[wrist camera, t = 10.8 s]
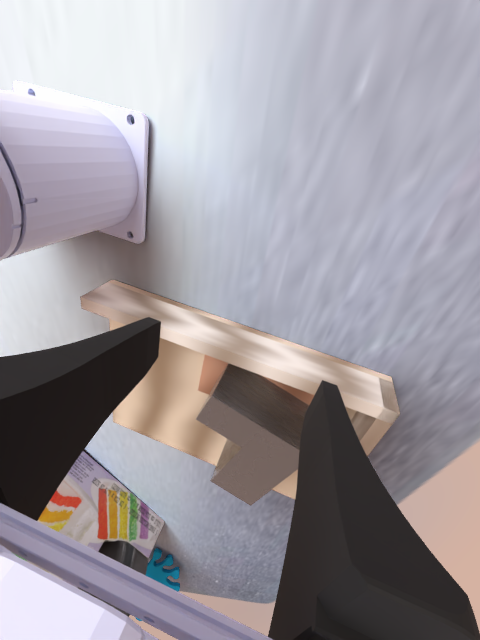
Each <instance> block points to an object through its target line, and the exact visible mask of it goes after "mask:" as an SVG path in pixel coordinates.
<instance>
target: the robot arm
mask: <svg viewBox="0 0 480 640" xmlns="http://www.w3.org/2000/svg"><path fill="white" fill-rule="evenodd" d="M12 89H13V92H12V91H7V90H2V89H0V261H1V260H2V259H5V258H8V257H11V256H15V255H18V254H21V253H24V252H28V251H31V250H34V249H38V248H41V247H44V246H47V245H51V244H54V243H57V242H61V241H64V240H67V239H70V238H74V237H77V236H80V235H84V234H87V233H90V232H93V231H100V232H103V233H106V234H109V235H112V236H115V237H118V238H121V239H124V240H127V241H130V242H133V243H136V244H139V243H142V242H143V241H144V240H145V223H146V194H147V165H148V136H149V121H148V118H147V116H146V115H145V114H144V113H142V112H139V111H135V110H131V109H127V108H123V107H119V106H115V105H112V104H108V103H104V102H100V101H96V100H92V99H88V98H84V97H80V96H77V95H73V94H69V93H65V92H61V91H57V90H53V89H49V88H45V87H41V86H38V85H34V84H30V83H26V82H22V81H18V80H16V81H14V82H13V85H12ZM34 92H35V96H34ZM132 115H133V117H134V120H135V121H134V124H132V123H131V116H132ZM130 232H132V234H133V237H132V236H131V235H130ZM160 329H161V321H159V320H156V319H153V318H150V317H147V318H144V319H141V320H138V321H135V322H133V323H130V324H127V325H125V326H122V327H120V328H117V329H114V330H111V331H109V332H106V333H103V334H100V335H97V336H94V337H91V338H88V339H85V340H81V341H78V342H75V343H71V344H67V345H63V346H59V347H55V348H51V349H46V350H41V351H36V352H30V353H25V354H19V355H13V356H5V357H0V640H159V639H157V638H156V637H154V636H152V635H151V634H149V633H148V632H146V631H144V630H143V629H141V627H140V626H139V625H137V624H136V623H135V622H134V621H133V620H131V619H130V618H129V617H128V616H126V615H125V614H123V613H121V612H120V611H118V610H117V609H115V608H113V607H112V606H110V605H108V604H107V603H105V602H103V601H101V600H99V599H97V598H95V597H93V596H91V595H89V594H88V593H86V592H84V591H82V590H80V589H78V588H76V587H74V586H72V585H70V584H69V583H67V582H65V581H63V580H61V579H59V578H57V577H55V576H53V575H51V574H49V573H48V572H46V571H44V570H42V569H40V568H38V567H36V566H34V565H32V564H30V563H29V562H27V561H25V560H23V559H21V558H19V557H17V556H16V555H18V556H20V557H22V558H24V559H26V560H28V561H30V562H31V563H33V564H35V565H37V566H39V567H41V568H43V569H45V570H47V571H49V572H51V573H52V574H54V575H56V576H58V577H60V578H62V579H64V580H66V581H68V582H70V583H71V584H73V585H75V586H77V587H79V588H81V589H83V590H85V591H87V592H89V593H91V594H92V595H94V596H96V597H98V598H100V599H102V600H104V601H106V602H108V603H110V604H111V605H113V606H115V607H117V608H119V609H121V610H123V611H125V612H127V613H129V614H130V615H132V616H134V617H136V618H138V619H140V620H142V621H144V622H146V623H148V624H150V625H152V626H153V627H155V628H157V629H159V630H161V631H163V632H165V633H167V634H169V635H170V636H173V637H174V638H176V639H178V640H480V633H479V630H478V626H477V623H476V619H475V616H474V613H473V610H472V607H471V604H470V601H469V598H468V596H467V594H466V593H465V592H464V591H463V590H462V588H461V587H460V586H459V585H458V584H457V583H456V581H455V580H454V579H453V578H452V577H451V576H450V574H449V573H448V572H447V571H446V570H445V568H444V567H443V566H442V565H441V564H440V562H439V561H438V560H437V559H436V558H435V556H434V555H433V554H432V553H431V551H430V550H429V549H428V548H427V546H426V545H425V544H424V542H423V541H422V540H421V538H420V537H419V536H418V535H417V533H416V532H415V531H414V529H413V528H412V527H411V525H410V524H409V522H408V521H407V520H406V518H405V517H404V515H403V514H402V513H401V511H400V510H399V508H398V507H397V505H396V504H395V502H394V501H393V499H392V498H391V496H390V495H389V493H388V492H387V490H386V488H385V487H384V485H383V484H382V482H381V480H380V479H379V477H378V475H377V473H376V472H375V470H374V468H373V467H372V465H371V463H370V461H369V459H368V457H367V455H366V453H365V451H364V449H363V447H362V445H361V443H360V441H359V439H358V436H357V434H356V432H355V430H354V427H353V425H352V423H351V420H350V418H349V415H348V413H347V410H346V407H345V405H344V402H343V399H342V397H341V394H340V391H339V388H338V386H337V385H335V384H332V383H329V382H326V381H324V380H322V381H321V383H320V385H319V387H318V389H317V391H316V393H315V395H314V397H313V399H312V401H311V403H310V405H309V407H308V409H307V411H306V413H305V417H304V422H303V427H302V432H301V439H300V451H299V464H298V477H297V490H296V498H295V505H294V511H293V517H292V522H291V528H290V533H289V539H288V544H287V549H286V554H285V560H284V565H283V569H282V574H281V579H280V584H279V589H278V594H277V598H276V603H275V608H274V612H273V617H272V621H271V626H270V630H269V635H268V637H267V636H265V635H263V634H261V633H259V632H257V631H255V630H253V629H251V628H249V627H247V626H245V625H243V624H241V623H239V622H237V621H235V620H233V619H231V618H229V617H227V616H225V615H223V614H221V613H219V612H217V611H215V610H213V609H211V608H209V607H207V606H205V605H203V604H201V603H199V602H197V601H195V600H193V599H191V598H189V597H187V596H185V595H183V594H181V593H179V592H177V591H175V590H173V589H171V588H169V587H167V586H165V585H163V584H161V583H159V582H157V581H155V580H153V579H151V578H149V577H147V576H145V575H143V574H141V573H139V572H137V571H135V570H133V569H131V568H129V567H127V566H125V565H123V564H121V563H119V562H117V561H115V560H113V559H111V558H109V557H107V556H105V555H103V554H101V553H99V552H97V551H95V550H93V549H91V548H89V547H87V546H85V545H83V544H81V543H79V542H77V541H75V540H73V539H71V538H69V537H67V536H65V535H63V534H61V533H59V532H57V531H55V530H53V529H51V528H49V527H47V526H45V525H43V524H41V523H39V522H37V521H38V519H39V517H40V516H41V514H42V512H43V511H44V509H45V508H46V506H47V504H48V503H49V501H50V500H51V498H52V496H53V495H54V493H55V492H56V490H57V488H58V487H59V485H60V484H61V482H62V481H63V479H64V478H65V476H66V475H67V473H68V472H69V470H70V469H71V467H72V466H73V464H74V463H75V461H76V460H77V459H78V457H79V456H80V454H81V453H82V452H83V450H84V449H85V447H86V446H87V444H88V443H89V442H90V440H91V439H92V438H93V436H94V435H95V433H96V432H97V431H98V429H99V428H100V427H101V425H102V424H103V423H104V421H105V420H106V419H107V418H108V417H109V415H110V414H111V413H112V412H113V411H114V410H115V409H116V407H117V406H118V405H119V404H120V403H121V402H122V401H123V400H124V399H125V398H126V397H127V395H128V394H129V393H130V392H131V391H132V390H133V389H134V388H135V387H136V386H137V384H138V383H139V382H140V381H141V380H142V379H143V378H144V377H145V375H146V374H147V373H148V371H149V370H150V369H151V367H152V366H153V364H154V363H155V361H156V360H157V358H158V355H159V342H160ZM13 553H14V554H13ZM15 554H16V555H15Z"/></svg>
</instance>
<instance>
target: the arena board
mask: <svg viewBox="0 0 480 640" xmlns="http://www.w3.org/2000/svg"><path fill="white" fill-rule="evenodd" d="M80 298H81V308H82V309H84V310H87V311H90V312H92V313H95V314H98V315H100V316H103V317H106V318H109V324H110V331H111V330H114V329H117V328H120V327H122V326H125V325H127V324H130V323H133V322H135V321H138V320H141V319H144V318H147V317H150V318H153V319H156V320H159V321H161V329H160V342H159V355H158V358H157V360H156V361H155V363H154V364H153V366H152V367H151V369H150V370H149V371H148V373H147V374H146V375H145V377H144V378H143V379H142V380H141V381H140V382H139V383H138V384H137V386H136V387H135V388H134V389H133V390H132V391H131V392H130V393H129V394H128V395H127V397H126V398H125V399H124V400H123V401H122V402H121V403H120V404H119V405H118V406H117V407H116V409H115V410H114V411H113V422H115V423H117V424H119V425H122V426H124V427H126V428H129V429H131V430H133V431H136V432H138V433H140V434H143V435H145V436H147V437H150V438H152V439H154V440H157V441H159V442H161V443H164V444H166V445H168V446H171V447H173V448H175V449H178V450H180V451H183V452H185V453H187V454H190V455H192V456H194V457H197V458H199V459H201V460H204V461H206V462H208V463H211V464H213V465H215V466H217V463H218V461H219V458H220V456H221V453H222V451H223V448H224V446H225V443H226V440H227V438H225V437H224V436H222V435H220V434H219V433H217V432H215V431H214V430H212V429H211V428H209V427H207V426H206V425H204V424H202V423H201V422H199V421H198V420H196V418H197V416H198V414H199V412H200V410H201V409H202V407H203V405H204V403H205V401H206V399H207V398H208V396H209V394H210V392H211V390H212V388H213V387H214V385H215V383H216V381H217V379H218V378H219V376H220V375H221V373H222V372H223V370H224V369H225V367H226V366H227V364H228V363H229V364H232V365H235V366H238V367H240V368H243V369H246V370H248V371H251V372H254V373H256V374H259V375H261V376H263V377H264V378H266V379H267V380H269V381H271V382H272V383H274V384H276V385H277V386H279V387H280V388H282V389H284V390H285V391H287V392H289V393H290V394H292V395H293V396H295V397H297V398H298V399H300V400H301V401H303V402H305V403H306V404H308V405H310V403H311V401H312V399H313V397H314V395H315V393H316V391H317V389H318V387H319V385H320V383H321V381H322V380H324V381H326V382H329V383H332V384H335V385H337V386H338V388H339V391H340V394H341V397H342V399H343V402H344V405H345V407H346V410H347V413H348V415H349V418H350V420H351V423H352V425H353V427H354V430H355V432H356V434H357V436H358V439H359V441H360V443H361V445H362V447H363V449H364V451H365V453H366V455H367V456H368V455H369V453H370V452H371V451H372V450H373V448H374V447H375V446H376V444H377V443H378V442H379V441H380V439H381V438H382V437H383V435H384V434H385V433H386V432H387V430H388V429H389V428H390V426H391V425H392V424H393V423H394V421H395V420H396V419H397V417H398V416H399V415H400V411H399V407H398V403H397V398H396V394H395V390H394V386H393V382H392V377H390V376H387V375H384V374H381V373H378V372H376V371H373V370H370V369H367V368H364V367H361V366H358V365H356V364H353V363H350V362H347V361H344V360H341V359H339V358H336V357H333V356H330V355H327V354H324V353H321V352H319V351H316V350H313V349H310V348H307V347H304V346H301V345H299V344H296V343H293V342H290V341H287V340H284V339H281V338H279V337H276V336H273V335H270V334H267V333H264V332H261V331H259V330H256V329H253V328H250V327H247V326H244V325H241V324H239V323H236V322H233V321H230V320H227V319H224V318H221V317H219V316H216V315H213V314H210V313H207V312H204V311H202V310H199V309H196V308H193V307H190V306H187V305H184V304H182V303H179V302H176V301H173V300H170V299H167V298H164V297H162V296H159V295H156V294H153V293H150V292H147V291H144V290H142V289H139V288H136V287H133V286H130V285H127V284H124V283H122V282H119V281H116V280H113V279H112V280H111V281H109V282H107V283H105V284H103V285H101V286H100V287H98V288H96V289H94V290H92V291H90V292H88V293H87V294H85V295H83V296H81V297H80ZM297 477H298V469H297V470H296V471H295V472H294V473H292V474H291V475H290V476H288V477H287V478H286V479H284V480H283V481H282V482H281V483H279V484H278V485H277V486H275V487H274V488H273V489H272V490H274V491H276V492H279V493H281V494H283V495H286V496H288V497H290V498H293V499H295V498H296V490H297Z"/></svg>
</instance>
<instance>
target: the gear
mask: <svg viewBox="0 0 480 640" xmlns="http://www.w3.org/2000/svg"><path fill="white" fill-rule="evenodd" d="M161 554H162V551H161V550H160V549H158V548H156V549H155V550H154V554H153V558H152V559H151V560H150V562H149V563H148V565H147V571H146V576H147V577H149V578H151V579H153V580H155V581H157V582H159V583H161V584H163V585H165V586H167V587H169V588H171V589H173V590H175V591H177V592H178V591H179V589H180V584H179V583H178V582H171V581H170V580H169V579H168V578H167V577H168V576H172V577H173V578H174V579H178V578H179V567H175V568H173V569H170V570H167V569H164V568H163V566H171V565H172V564H173V557H172V555H171V554H169V555H167V557H166V558H165V560H163V561H162V562H160V563H156V561H155V560H157V559H159V558H160V557H161ZM136 619H137V620H139V621H142V620H140V619H138V618H136Z"/></svg>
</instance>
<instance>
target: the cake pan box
mask: <svg viewBox="0 0 480 640" xmlns="http://www.w3.org/2000/svg"><path fill="white" fill-rule="evenodd" d="M37 522H39V523H41V524H43V525H45V526H47V527H49V528H51V529H53V530H55V531H57V532H59V533H61V534H63V535H65V536H67V537H69V538H71V539H73V540H75V541H77V542H79V543H81V544H83V545H85V546H87V547H89V548H91V549H93V550H95V551H97V552H99V553H101V554H103V555H105V556H107V557H109V558H111V559H113V560H115V561H117V562H119V563H121V564H123V565H125V566H127V567H129V568H131V569H133V570H135V571H137V572H139V573H141V574H143V575H145V576H146V571H147V565H148V559H149V556H150V554H151V552H152V550H153V547H154V545H155V543H156V541H157V539H158V536H159V534H160V532H161V530H162V527H163V525H164V523H165V522H164V521H163V520H162V519H161V518H160V517H159V516H158V515H157V514H156V513H154V512H153V511H152V510H151V509H150V508H149V507H148V506H146V505H145V504H144V503H143V502H142V501H141V500H140V499H138V498H137V497H136V496H135V495H134V494H133V493H131V492H130V491H129V490H128V489H127V488H126V487H125V486H123V485H122V484H121V483H120V482H119V481H118V480H116V479H115V478H114V477H113V476H112V475H111V474H109V473H108V472H107V471H106V470H105V469H104V468H102V467H101V466H100V465H99V464H98V463H97V462H95V461H94V460H93V459H92V458H91V457H89V456H88V455H87V454H86V453H85V452H84V451H83V452H82V453H81V454H80V456H79V457H78V459H77V460H76V461H75V463H74V464H73V466H72V467H71V469H70V470H69V472H68V473H67V475H66V476H65V478H64V479H63V481H62V482H61V484H60V485H59V487H58V488H57V490H56V492H55V493H54V495H53V496H52V498H51V500H50V501H49V503H48V504H47V506H46V508H45V509H44V511H43V512H42V514H41V516H40V517H39V519H38V521H37ZM13 554H14V553H13ZM15 555H16V554H15ZM16 556H17V557H19V558H21V559H23V560H25V561H27V562H29V563H30V564H32V565H34V566H36V567H38V568H40V569H42V570H44V571H46V572H48V573H49V574H51V575H53V576H55V577H57V578H59V579H61V580H63V581H65V582H67V583H69V584H70V585H72V586H74V587H76V588H78V589H80V590H82V591H84V592H86V593H88V594H89V595H91V596H93V597H95V598H97V599H99V600H101V601H103V602H105V603H107V604H108V605H110V606H112V607H113V608H115V609H117V610H118V611H120V612H121V613H123V614H125V615H126V616H128V617H129V615H130V614H129V613H127V612H125V611H123V610H121V609H119V608H117V607H115V606H113V605H111V604H110V603H108V602H106V601H104V600H102V599H100V598H98V597H96V596H94V595H92V594H91V593H89V592H87V591H85V590H83V589H81V588H79V587H77V586H75V585H73V584H71V583H70V582H68V581H66V580H64V579H62V578H60V577H58V576H56V575H54V574H52V573H51V572H49V571H47V570H45V569H43V568H41V567H39V566H37V565H35V564H33V563H31V562H30V561H28V560H26V559H24V558H22V557H20V556H18V555H16Z"/></svg>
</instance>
